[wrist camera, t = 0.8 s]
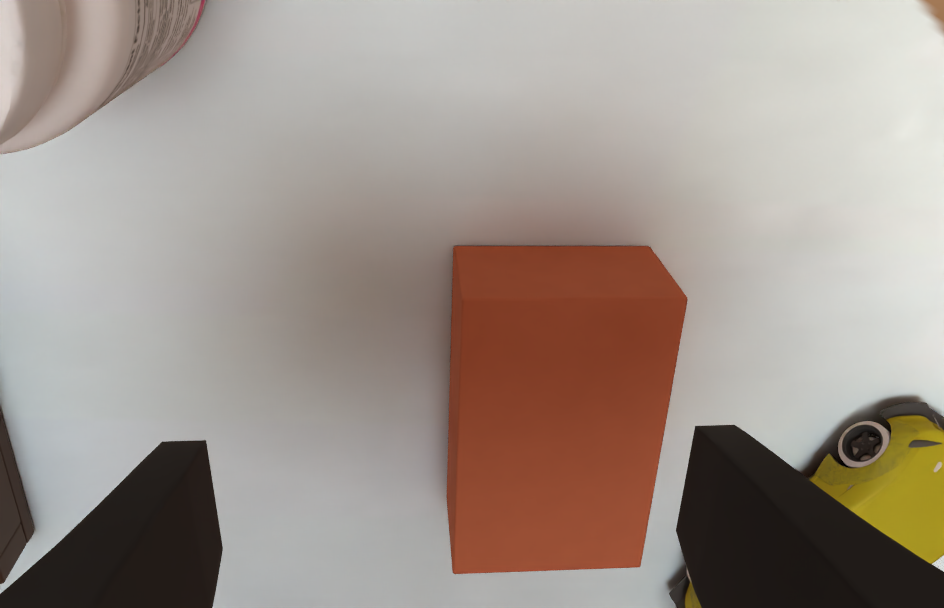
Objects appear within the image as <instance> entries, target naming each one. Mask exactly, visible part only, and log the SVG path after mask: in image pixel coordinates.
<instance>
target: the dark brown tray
mask: <svg viewBox="0 0 944 608" xmlns="http://www.w3.org/2000/svg"><path fill="white" fill-rule="evenodd" d="M33 533H34V527H33V524H32V520H31V517H30V513H29V510H28V506H27V502H26V499H25V495H24V492H23V488H22V485H21V481H20V478H19V474H18V470H17V467H16V463H15V460H14V456H13V453H12V449H11V446H10V442H9V439H8V435H7V431H6V428H5V424H4V421H3V417H2V414H1V410H0V584H2V583H4V582H5V580H6V578H7V577H8V575H9V573H10V571H11V570H12V568H13V566H14V565H15V563H16V561H17V559H18V558H19V556H20V554H21V553H22V551H23V549H24V548H25V546H26V543H28V542H29V540H30V538H31V536H32V535H33Z"/></svg>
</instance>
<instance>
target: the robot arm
mask: <svg viewBox="0 0 944 608" xmlns="http://www.w3.org/2000/svg"><path fill="white" fill-rule="evenodd" d="M676 532H677V535H678V539H679V542H680V546H681V549H682V553H683V556H684V560H685V563H686V566H687V569H688V573H689V576H690V579H691V582H692V585H693V588H694V591H695V594H696V596H697V598H698V601H699V603H700V605H701V608H944V572H943V571H941V570H940V569H938V568H937V567H935V566H933V565H932V564H930V563H928V562H927V561H925V560H924V559H922V558H920V557H919V556H917V555H916V554H914V553H913V552H911V551H910V550H908V549H907V548H905V547H904V546H902V545H901V544H899V543H898V542H896V541H895V540H893V539H892V538H890V537H889V536H887V535H886V534H884V533H882V532H881V531H879V530H878V529H877V528H875V527H874V526H872V525H871V524H869V523H868V522H866V521H865V520H864V519H862V518H861V517H859V516H858V515H856V514H855V513H854V512H852V511H851V510H849V509H848V508H847V507H845V506H844V505H842V504H841V503H840V502H838V501H837V500H836V499H834V498H833V497H832V496H830V495H829V494H827V493H826V492H825V491H823V490H822V489H821V488H819V487H818V486H817V485H815V484H814V483H813V482H811V481H810V480H809V479H807V478H806V477H805V476H803V475H802V474H801V473H799V472H798V471H797V470H795V469H794V468H793V467H791V466H790V465H789V464H787V463H786V462H785V461H784V460H782V459H781V458H780V457H778V456H777V455H776V454H774V453H773V452H772V451H770V450H769V449H768V448H766V447H765V446H764V445H762V444H761V443H760V442H758V441H757V440H756V439H754V438H753V437H751V436H750V435H749V434H747V433H746V432H744V431H743V430H741V429H740V428H738V427H737V426H735V425H716V426H695V431H694V436H693V441H692V447H691V452H690V458H689V463H688V469H687V474H686V479H685V485H684V490H683V496H682V501H681V506H680V512H679V517H678V523H677V528H676ZM222 550H223V547H222V541H221V534H220V528H219V522H218V515H217V509H216V502H215V496H214V489H213V483H212V476H211V470H210V463H209V457H208V450H207V444H206V440H203V441H169V442H162V443H160V444H159V445H158V446H157V447H156V448H155V449H154V450H153V451H152V452H151V453H150V454H149V455H148V456H147V457H146V458H145V459H144V460H143V461H142V462H141V463H140V464H139V465H138V466H137V467H136V468H135V469H134V470H133V471H132V472H131V473H130V474H129V475H128V476H127V477H126V478H125V479H124V480H123V481H122V482H121V483H120V484H119V485H118V486H117V487H116V488H115V489H114V490H113V491H112V492H111V493H110V494H109V495H108V496H107V497H106V498H105V499H104V500H103V501H102V502H101V503H100V504H99V505H98V506H97V507H96V508H95V509H94V510H93V511H92V512H90V513H89V514H88V515H87V516H86V517H85V518H84V519H83V520H82V521H81V522H80V523H79V524H78V525H77V526H76V527H75V528H74V529H73V530H72V531H71V532H70V533H68V534H67V535H66V536H65V537H64V538H63V539H62V540H61V541H60V542H59V543H58V544H57V545H56V546H55V547H54V548H52V549H51V550H50V551H49V552H48V553H47V554H46V555H44V556H43V557H42V558H41V559H40V560H39V561H38V562H36V563H35V564H34V565H33V566H32V567H31V568H30V569H29V570H27V571H26V572H25V573H24V574H23V575H22V576H21V577H19V578H18V579H17V580H16V581H15V582H14V583H13V584H11V585H10V586H9V587H8V588H7V589H6V590H5V591H3V592H2V593H1V594H0V608H212V607H213V601H214V596H215V591H216V586H217V580H218V574H219V568H220V562H221V556H222Z"/></svg>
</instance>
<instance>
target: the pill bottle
mask: <svg viewBox="0 0 944 608" xmlns="http://www.w3.org/2000/svg"><path fill="white" fill-rule="evenodd" d="M205 1H206V0H0V154H5V153H12V152H17V151H21V150H25V149H29V148H32V147H35V146H38V145H40V144H43V143H45V142H47V141H50V140H52V139H54V138H56V137H58V136H60V135H62V134H64V133H65V132H67V131H69V130H70V129H72V128H73V127H75V126H76V125H77V124H79V123H80V122H82V121H83V120H84V119H86V118H87V117H89V116H90V115H92V114H93V113H94V112H96V111H97V110H99V109H100V108H102V107H103V106H104V105H106V104H107V103H109V102H110V101H111V100H113V99H114V98H116V97H117V96H119V95H120V94H121V93H123V92H124V91H126V90H127V89H129V88H130V87H131V86H133V85H134V84H136V83H137V82H138V81H140V80H142V79H143V78H145V77H146V76H147V75H149V74H150V73H152V72H153V71H155V70H156V69H157V68H159V67H160V66H162V65H163V64H165V63H166V62H167V61H168V60H170V59H171V58H172V57H173V56H174V55H175V54H176V53H177V52H178V51H179V50H180V49H181V48H182V47H183V46H184V44H185V43H186V42H187V40H188V39H189V38H190V36H191V35H192V33H193V32H194V30H195V28H196V26H197V24H198V22H199V20H200V17H201V14H202V12H203V9H204V5H205Z"/></svg>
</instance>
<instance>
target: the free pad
mask: <svg viewBox="0 0 944 608" xmlns="http://www.w3.org/2000/svg"><path fill="white" fill-rule="evenodd" d="M686 305H687V297H686V295H685V294H684V293H683V291H682V290H681V288H680V287H679V286H678V284H677V283H676V282H675V280H674V279H673V278H672V276H671V275H670V273H669V272H668V271H667V269H666V268H665V267H664V265H663V264H662V263H661V261H660V260H659V259H658V257H657V256H656V254H655V253H654V252H653V250H652V249H651V248H650V247H649V246H454V248H453V279H452V316H451V354H450V391H449V429H448V466H447V508H448V520H449V533H450V545H451V557H452V570H453V573H454V574H467V573H494V572H521V571H548V570H576V569H603V568H630V567H640V565H641V559H642V554H643V548H644V542H645V537H646V531H647V525H648V520H649V514H650V508H651V503H652V497H653V491H654V486H655V480H656V474H657V469H658V463H659V458H660V452H661V446H662V441H663V435H664V429H665V424H666V418H667V412H668V407H669V401H670V395H671V390H672V384H673V378H674V373H675V367H676V362H677V356H678V350H679V345H680V339H681V333H682V328H683V322H684V316H685V311H686Z"/></svg>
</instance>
